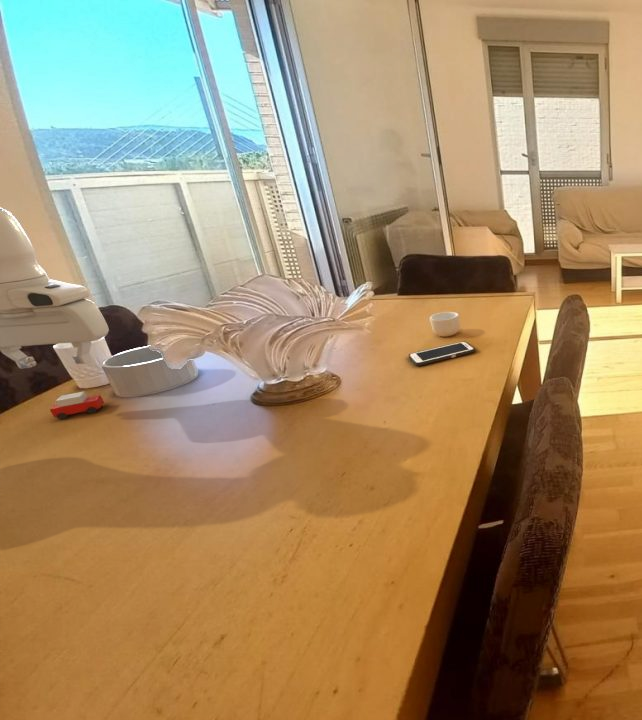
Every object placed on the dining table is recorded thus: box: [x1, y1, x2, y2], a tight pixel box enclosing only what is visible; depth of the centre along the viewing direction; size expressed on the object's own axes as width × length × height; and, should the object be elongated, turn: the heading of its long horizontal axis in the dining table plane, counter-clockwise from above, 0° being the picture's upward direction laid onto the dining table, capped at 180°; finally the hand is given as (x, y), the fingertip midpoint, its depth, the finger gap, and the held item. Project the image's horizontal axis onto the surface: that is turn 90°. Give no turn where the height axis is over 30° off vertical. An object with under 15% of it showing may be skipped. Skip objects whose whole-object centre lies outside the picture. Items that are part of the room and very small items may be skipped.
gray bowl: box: [100, 345, 199, 398], centre depth 106 cm, size 14×14×7 cm
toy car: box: [49, 391, 105, 421], centre depth 94 cm, size 6×4×4 cm, turn 122°
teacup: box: [429, 311, 461, 338], centre depth 133 cm, size 10×8×5 cm
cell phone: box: [408, 340, 476, 367], centre depth 118 cm, size 8×15×1 cm, turn 127°
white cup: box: [52, 337, 113, 389], centre depth 107 cm, size 8×8×10 cm
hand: (56, 365), depth 91 cm, fingers open, 8 cm apart
